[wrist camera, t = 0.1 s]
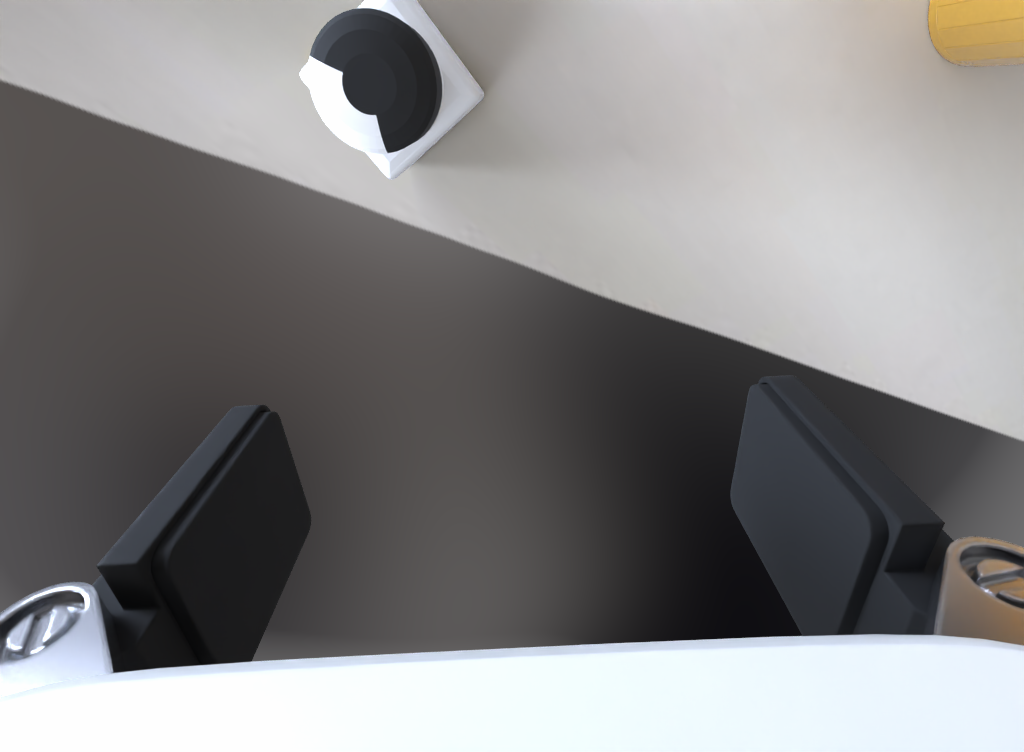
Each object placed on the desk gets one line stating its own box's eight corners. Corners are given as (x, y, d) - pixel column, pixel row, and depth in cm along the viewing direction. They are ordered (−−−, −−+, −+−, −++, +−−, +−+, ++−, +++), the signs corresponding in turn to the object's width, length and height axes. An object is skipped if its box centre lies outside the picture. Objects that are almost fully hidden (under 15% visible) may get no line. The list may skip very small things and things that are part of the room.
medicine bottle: (411, -7, 32) (366, -53, 22) (486, 95, 35) (478, 98, 25) (333, 77, 35) (257, 71, 24) (409, 167, 37) (371, 198, 27)
